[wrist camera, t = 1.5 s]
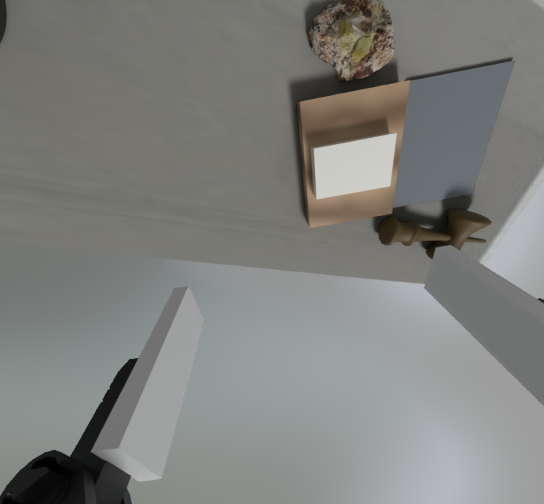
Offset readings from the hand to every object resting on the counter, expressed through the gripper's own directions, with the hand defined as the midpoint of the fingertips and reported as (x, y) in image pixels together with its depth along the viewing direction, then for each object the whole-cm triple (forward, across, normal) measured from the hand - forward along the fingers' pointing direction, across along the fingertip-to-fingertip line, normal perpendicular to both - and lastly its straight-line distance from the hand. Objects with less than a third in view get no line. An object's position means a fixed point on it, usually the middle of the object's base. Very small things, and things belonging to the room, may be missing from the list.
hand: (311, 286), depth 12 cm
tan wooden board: (+27, +11, +1) cm, 29 cm away
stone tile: (+24, +11, +1) cm, 27 cm away
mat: (+27, +26, +1) cm, 38 cm away
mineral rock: (+27, +11, +15) cm, 33 cm away
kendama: (+27, +27, -14) cm, 41 cm away
